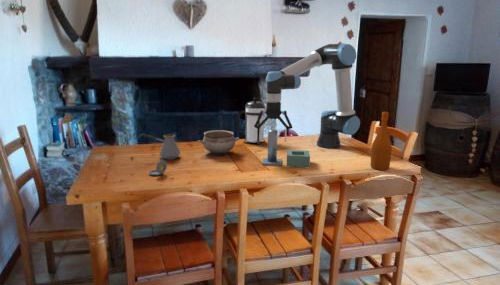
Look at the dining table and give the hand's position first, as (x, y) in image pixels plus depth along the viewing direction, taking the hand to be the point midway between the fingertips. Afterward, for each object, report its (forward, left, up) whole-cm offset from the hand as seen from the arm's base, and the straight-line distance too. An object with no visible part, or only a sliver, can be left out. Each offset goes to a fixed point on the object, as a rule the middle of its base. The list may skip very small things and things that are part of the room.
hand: (272, 140), depth 196 cm
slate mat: (0, 0, -12) cm, 12 cm away
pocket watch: (+54, +28, -12) cm, 62 cm away
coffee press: (+15, -44, -12) cm, 48 cm away
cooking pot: (+32, -14, -12) cm, 37 cm away
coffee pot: (+62, +1, -12) cm, 63 cm away
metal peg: (0, 0, -11) cm, 11 cm away
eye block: (-14, 0, -12) cm, 19 cm away
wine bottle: (-57, +1, -12) cm, 58 cm away
